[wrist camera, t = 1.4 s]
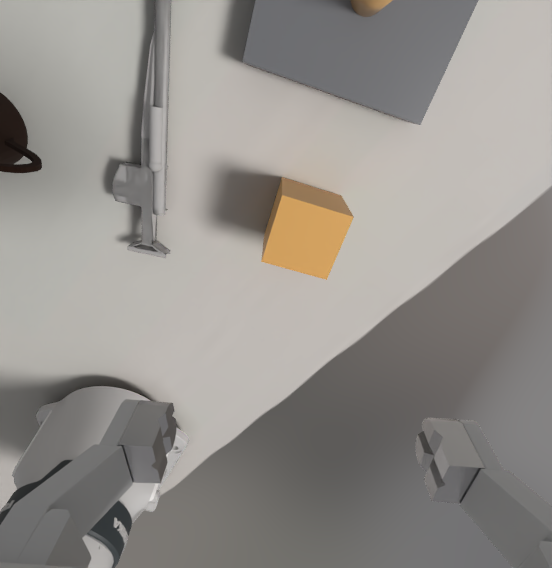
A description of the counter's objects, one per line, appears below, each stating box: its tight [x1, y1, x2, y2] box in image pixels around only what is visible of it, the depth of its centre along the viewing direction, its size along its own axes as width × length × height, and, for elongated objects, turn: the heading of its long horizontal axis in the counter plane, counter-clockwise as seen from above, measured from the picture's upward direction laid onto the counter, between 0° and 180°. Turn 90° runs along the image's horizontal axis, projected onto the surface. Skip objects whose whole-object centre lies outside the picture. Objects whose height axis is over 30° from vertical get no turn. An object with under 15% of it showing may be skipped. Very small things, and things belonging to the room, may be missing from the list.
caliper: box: [112, 0, 171, 258], centre depth 26 cm, size 29×2×5 cm
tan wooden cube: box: [261, 177, 353, 280], centre depth 29 cm, size 6×6×6 cm
